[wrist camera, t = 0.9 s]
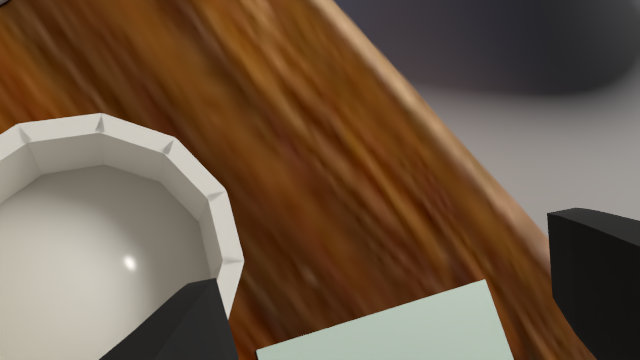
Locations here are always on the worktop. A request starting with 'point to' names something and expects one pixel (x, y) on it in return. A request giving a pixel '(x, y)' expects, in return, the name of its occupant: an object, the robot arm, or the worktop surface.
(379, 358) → the lid
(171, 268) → the bowl
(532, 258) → the worktop surface
